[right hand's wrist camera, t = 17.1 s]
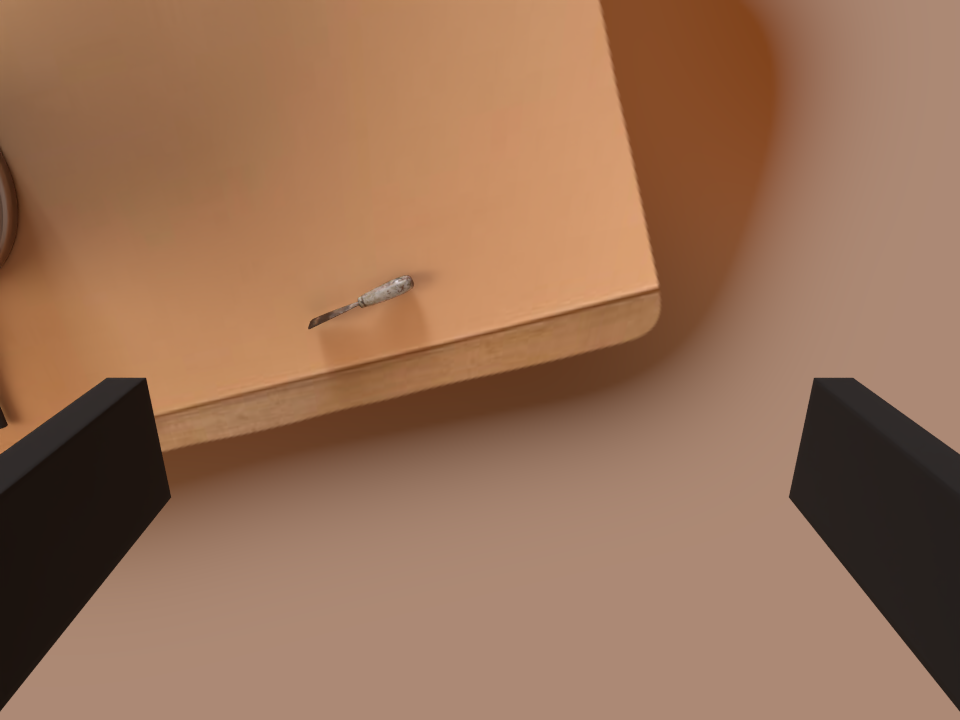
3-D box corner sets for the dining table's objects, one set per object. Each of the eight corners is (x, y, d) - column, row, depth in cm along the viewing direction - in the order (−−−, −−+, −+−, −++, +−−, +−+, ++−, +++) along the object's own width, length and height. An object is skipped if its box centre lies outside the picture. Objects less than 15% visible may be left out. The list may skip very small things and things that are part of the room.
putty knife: (416, 284, 44) (414, 290, 43) (316, 329, 45) (310, 337, 44) (409, 271, 44) (407, 277, 42) (309, 316, 45) (303, 324, 44)
